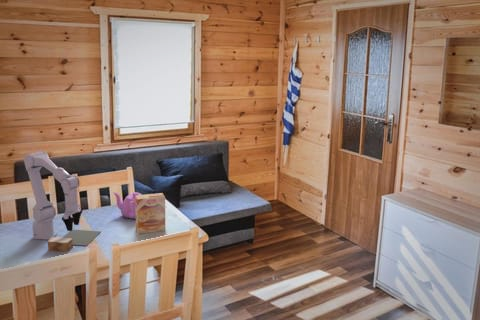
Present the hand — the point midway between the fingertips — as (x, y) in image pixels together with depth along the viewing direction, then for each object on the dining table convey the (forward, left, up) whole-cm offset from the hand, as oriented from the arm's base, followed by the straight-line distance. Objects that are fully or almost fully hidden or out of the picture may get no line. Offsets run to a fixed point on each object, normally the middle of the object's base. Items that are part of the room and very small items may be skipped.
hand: (73, 227), depth 230 cm
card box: (-5, -5, -10) cm, 12 cm away
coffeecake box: (+31, +25, -10) cm, 41 cm away
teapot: (+14, +45, -10) cm, 49 cm away
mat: (-2, +9, -10) cm, 14 cm away
